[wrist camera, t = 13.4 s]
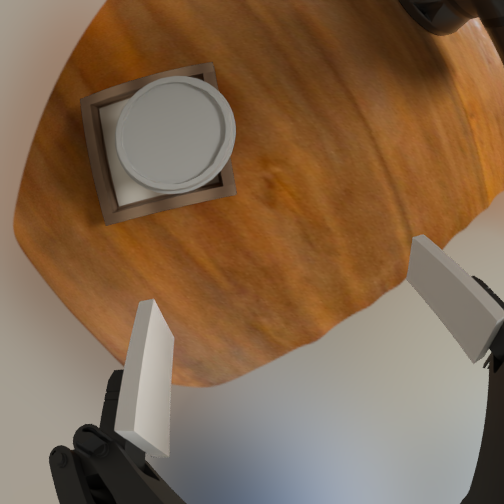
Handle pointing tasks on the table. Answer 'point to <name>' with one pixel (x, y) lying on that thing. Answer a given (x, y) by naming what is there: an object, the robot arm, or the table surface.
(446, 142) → the table surface
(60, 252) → the table surface
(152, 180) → the disposable coffee cup
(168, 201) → the holder
